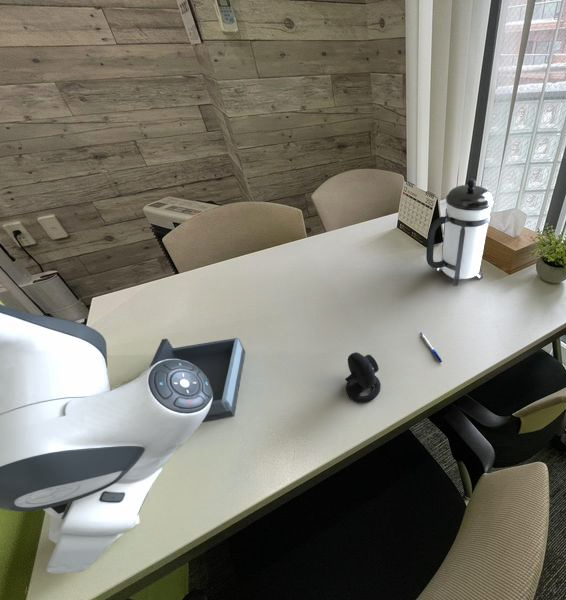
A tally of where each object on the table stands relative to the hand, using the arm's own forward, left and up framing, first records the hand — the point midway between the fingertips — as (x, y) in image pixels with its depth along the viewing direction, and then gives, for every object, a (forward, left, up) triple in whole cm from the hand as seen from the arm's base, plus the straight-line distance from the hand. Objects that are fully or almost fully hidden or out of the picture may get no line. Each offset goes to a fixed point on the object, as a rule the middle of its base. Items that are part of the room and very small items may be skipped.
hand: (91, 497), depth 46 cm
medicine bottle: (-1, 0, -7) cm, 7 cm away
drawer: (+24, +5, -7) cm, 25 cm away
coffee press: (+83, -40, -8) cm, 92 cm away
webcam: (+34, -28, -8) cm, 44 cm away
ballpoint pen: (+50, -39, -8) cm, 63 cm away
